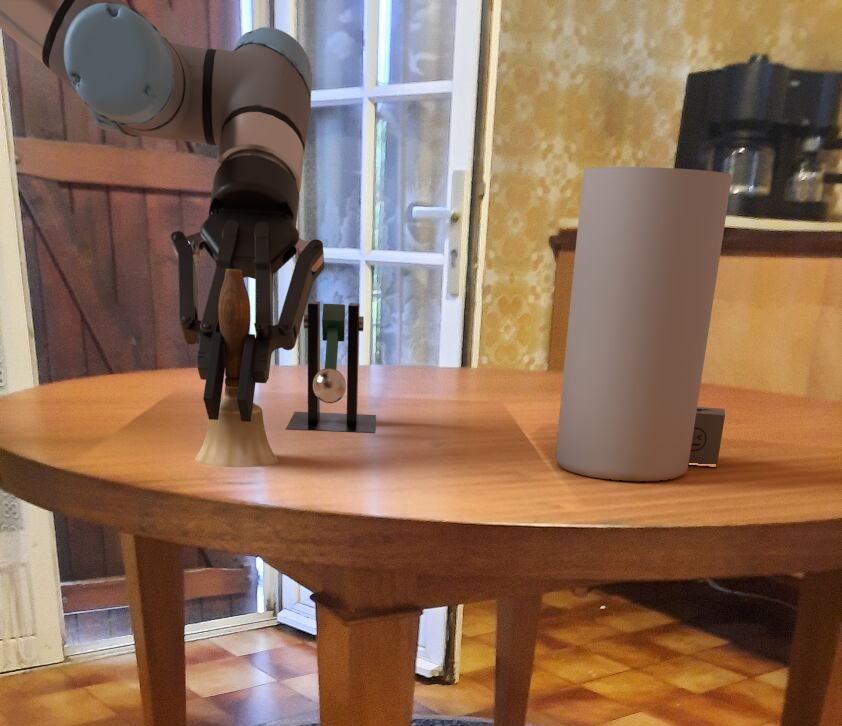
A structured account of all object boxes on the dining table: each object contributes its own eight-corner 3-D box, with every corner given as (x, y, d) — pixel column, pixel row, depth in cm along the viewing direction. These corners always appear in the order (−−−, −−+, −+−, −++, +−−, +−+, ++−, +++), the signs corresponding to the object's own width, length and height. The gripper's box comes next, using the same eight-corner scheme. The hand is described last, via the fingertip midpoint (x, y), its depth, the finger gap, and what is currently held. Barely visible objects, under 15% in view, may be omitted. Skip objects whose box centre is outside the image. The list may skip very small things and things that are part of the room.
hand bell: (179, 462, 94) (170, 264, 87) (270, 460, 97) (269, 269, 90) (200, 483, 87) (192, 269, 80) (297, 480, 90) (298, 274, 83)
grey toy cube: (716, 459, 109) (724, 408, 107) (716, 468, 105) (725, 415, 103) (666, 455, 110) (674, 404, 108) (665, 463, 106) (672, 411, 104)
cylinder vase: (668, 460, 108) (708, 180, 97) (702, 486, 97) (751, 172, 86) (546, 455, 107) (572, 172, 96) (565, 480, 96) (597, 164, 85)
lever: (345, 410, 103) (345, 383, 100) (312, 409, 103) (311, 381, 100) (350, 328, 110) (350, 300, 108) (319, 327, 110) (318, 299, 107)
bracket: (374, 445, 108) (378, 308, 102) (285, 442, 107) (283, 304, 102) (375, 426, 118) (379, 302, 113) (294, 423, 118) (293, 298, 112)
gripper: (344, 225, 98) (323, 443, 90) (180, 216, 97) (144, 433, 90) (340, 155, 90) (317, 385, 83) (163, 145, 90) (123, 374, 83)
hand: (227, 409), depth 86 cm, fingers closed on hand bell, 2 cm apart
